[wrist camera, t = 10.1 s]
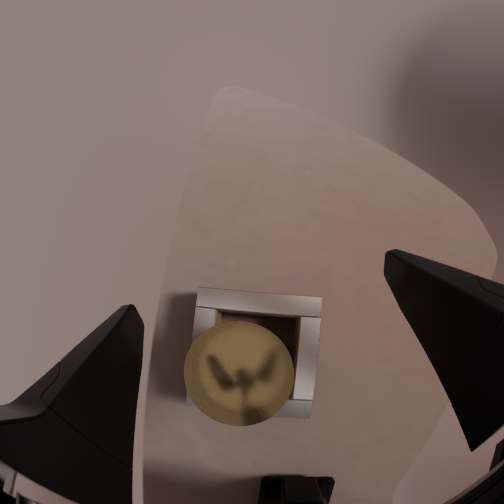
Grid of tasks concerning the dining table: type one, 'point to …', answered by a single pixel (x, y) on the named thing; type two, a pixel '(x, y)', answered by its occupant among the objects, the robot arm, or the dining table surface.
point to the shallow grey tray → (273, 306)
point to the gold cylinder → (238, 373)
